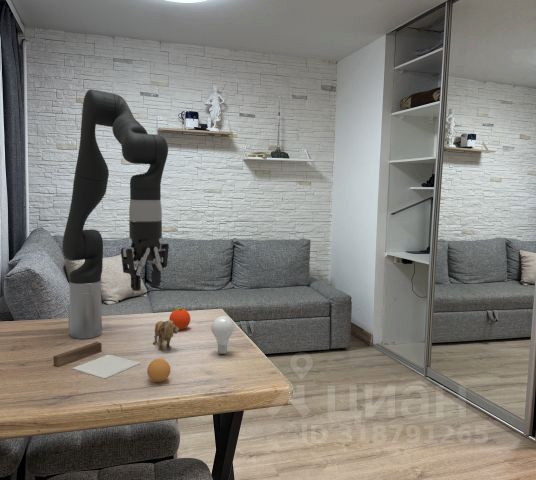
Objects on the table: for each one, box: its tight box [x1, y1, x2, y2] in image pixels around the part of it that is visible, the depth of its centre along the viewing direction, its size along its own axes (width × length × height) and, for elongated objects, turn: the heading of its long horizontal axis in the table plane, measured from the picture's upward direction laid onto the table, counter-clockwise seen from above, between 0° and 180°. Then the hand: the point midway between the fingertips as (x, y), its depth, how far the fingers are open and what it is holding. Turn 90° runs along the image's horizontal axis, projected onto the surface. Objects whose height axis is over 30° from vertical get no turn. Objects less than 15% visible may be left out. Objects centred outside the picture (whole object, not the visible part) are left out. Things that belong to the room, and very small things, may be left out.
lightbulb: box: [211, 315, 235, 355], centre depth 135 cm, size 6×6×11 cm
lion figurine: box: [153, 320, 179, 351], centre depth 141 cm, size 15×5×9 cm, turn 34°
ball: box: [146, 358, 171, 383], centre depth 115 cm, size 6×6×6 cm
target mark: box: [71, 354, 141, 380], centre depth 124 cm, size 12×12×1 cm
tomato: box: [168, 307, 191, 331], centre depth 158 cm, size 8×7×7 cm
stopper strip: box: [53, 341, 102, 368], centre depth 129 cm, size 2×14×2 cm, turn 150°
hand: (146, 287), depth 115 cm, fingers open, 6 cm apart
